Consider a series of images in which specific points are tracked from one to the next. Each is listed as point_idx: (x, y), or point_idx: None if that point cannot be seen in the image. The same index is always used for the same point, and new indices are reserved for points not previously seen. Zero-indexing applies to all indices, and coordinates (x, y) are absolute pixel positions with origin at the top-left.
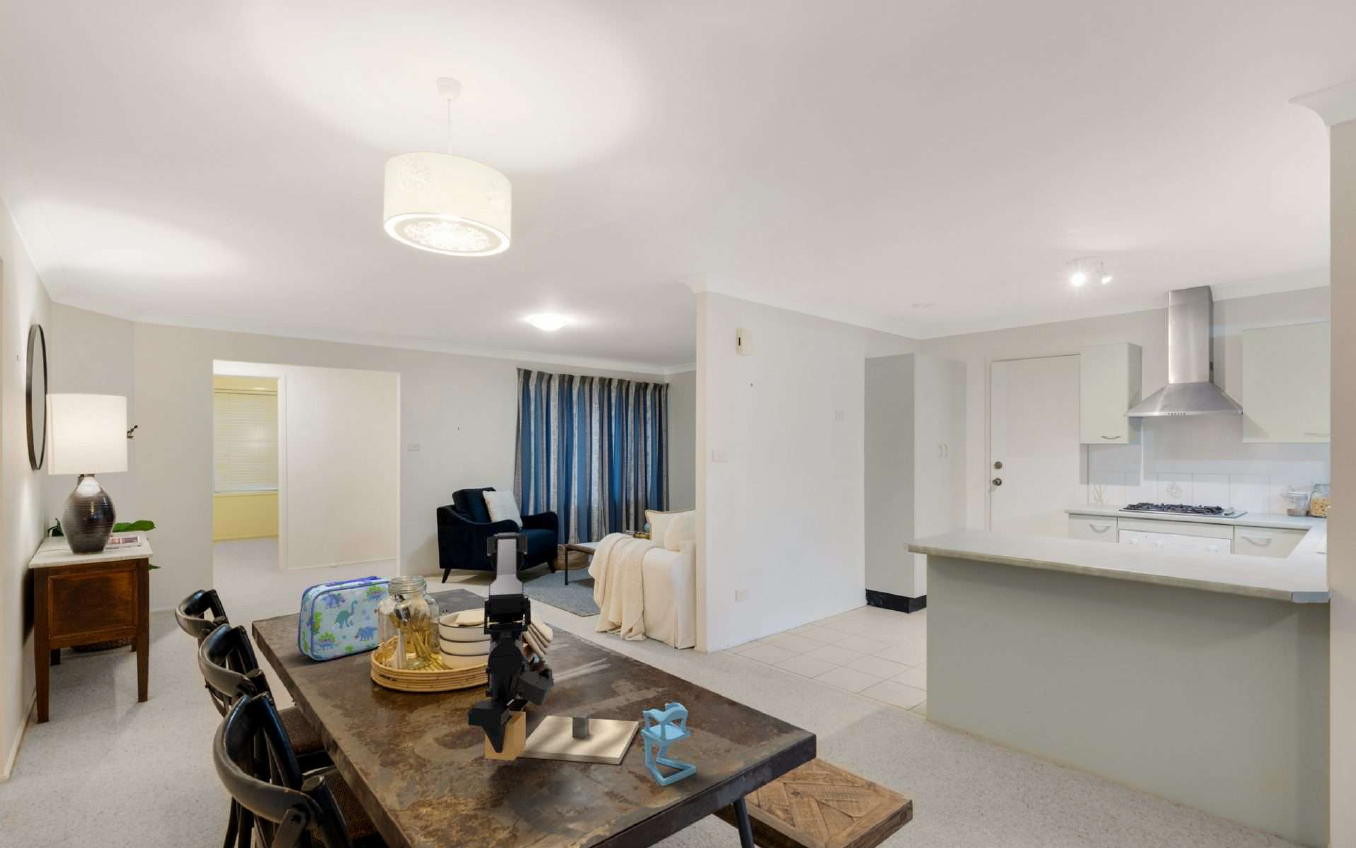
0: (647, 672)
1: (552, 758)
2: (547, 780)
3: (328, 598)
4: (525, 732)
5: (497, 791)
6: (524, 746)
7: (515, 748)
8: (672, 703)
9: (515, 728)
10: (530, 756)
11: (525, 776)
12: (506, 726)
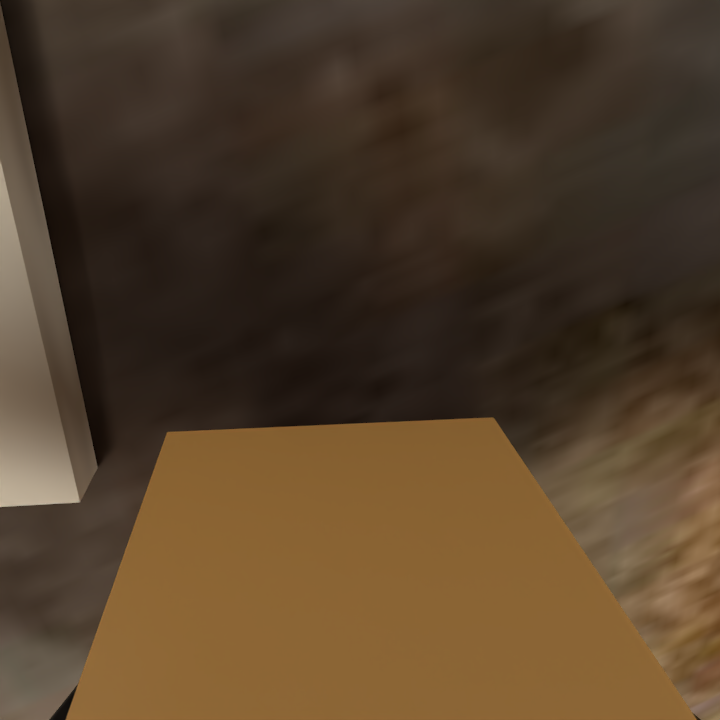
0: None
1: (21, 126)
2: (460, 19)
3: None
4: (135, 554)
5: (625, 376)
6: (200, 441)
7: (487, 483)
8: None
9: None
10: (71, 362)
11: (404, 266)
12: None
